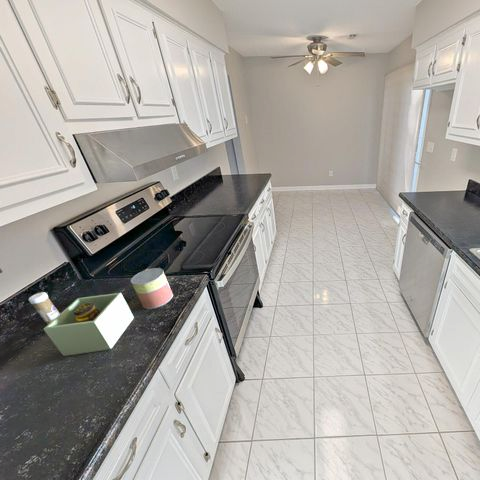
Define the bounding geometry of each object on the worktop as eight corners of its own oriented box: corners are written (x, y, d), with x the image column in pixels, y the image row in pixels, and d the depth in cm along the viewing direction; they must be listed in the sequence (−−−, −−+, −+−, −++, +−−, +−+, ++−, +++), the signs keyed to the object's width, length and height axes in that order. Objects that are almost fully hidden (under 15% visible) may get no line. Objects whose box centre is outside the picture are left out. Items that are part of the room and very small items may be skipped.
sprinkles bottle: (63, 324, 96) (44, 296, 90) (47, 330, 93) (26, 301, 87) (65, 317, 99) (46, 290, 93) (50, 323, 97) (29, 295, 91)
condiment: (82, 341, 86) (63, 314, 81) (103, 322, 94) (87, 297, 88) (101, 341, 85) (84, 315, 80) (121, 323, 93) (106, 297, 87)
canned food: (178, 296, 107) (168, 272, 101) (150, 312, 98) (138, 287, 93) (164, 288, 113) (155, 265, 107) (137, 302, 104) (125, 278, 99)
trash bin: (63, 356, 82) (43, 329, 77) (93, 323, 95) (77, 298, 90) (111, 349, 83) (94, 322, 78) (134, 317, 96) (121, 292, 91)
